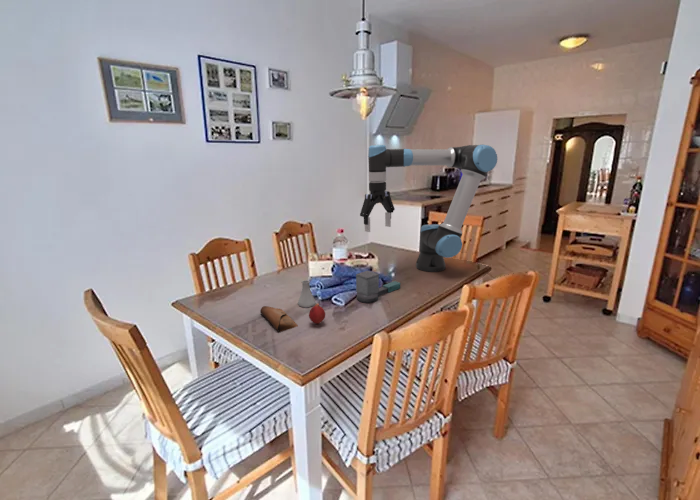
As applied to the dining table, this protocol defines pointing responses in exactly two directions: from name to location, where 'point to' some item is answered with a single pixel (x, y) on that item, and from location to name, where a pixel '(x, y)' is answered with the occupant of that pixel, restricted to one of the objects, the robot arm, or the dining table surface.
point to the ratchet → (382, 290)
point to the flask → (306, 295)
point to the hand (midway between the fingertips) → (378, 229)
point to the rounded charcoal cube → (367, 283)
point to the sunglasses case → (278, 318)
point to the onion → (317, 314)
